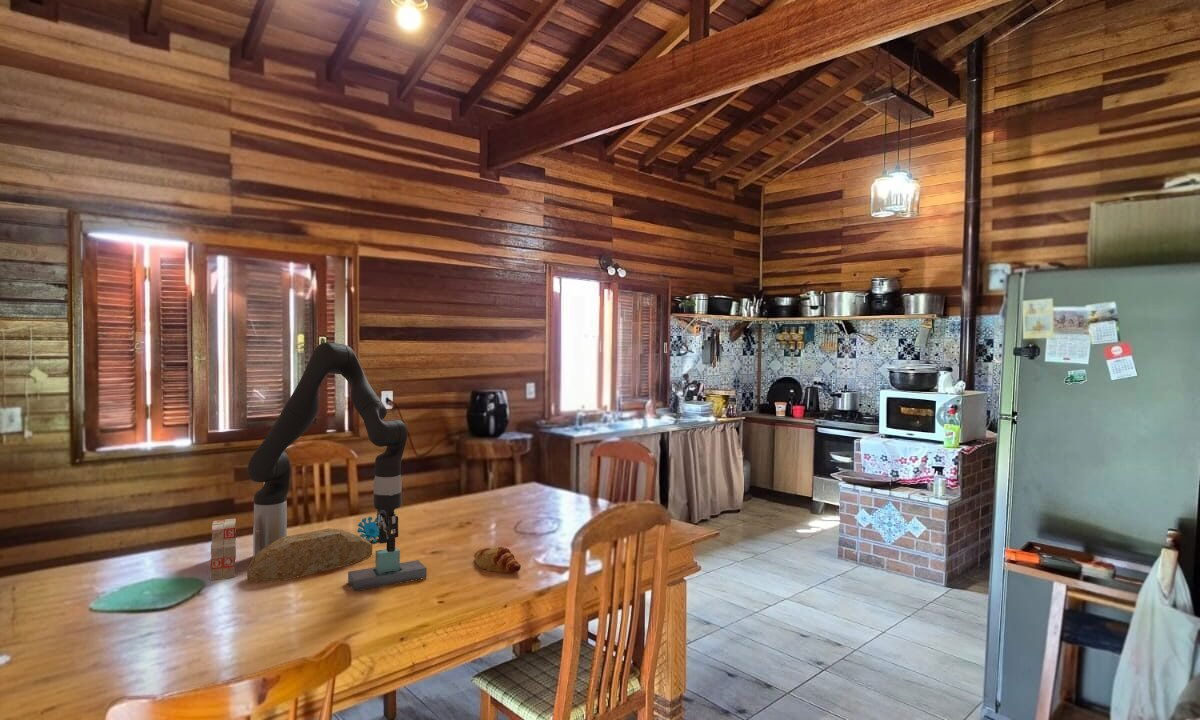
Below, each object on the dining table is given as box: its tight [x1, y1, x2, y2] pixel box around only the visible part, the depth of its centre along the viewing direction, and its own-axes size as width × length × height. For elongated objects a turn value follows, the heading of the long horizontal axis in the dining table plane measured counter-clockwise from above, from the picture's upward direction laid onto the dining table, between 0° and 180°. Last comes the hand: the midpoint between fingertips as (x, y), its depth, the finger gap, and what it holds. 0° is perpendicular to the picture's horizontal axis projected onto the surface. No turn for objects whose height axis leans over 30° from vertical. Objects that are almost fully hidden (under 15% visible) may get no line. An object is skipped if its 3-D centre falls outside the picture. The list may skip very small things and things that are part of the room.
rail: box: [347, 559, 428, 592], centre depth 190 cm, size 20×8×3 cm, turn 122°
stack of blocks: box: [210, 518, 237, 581], centre depth 199 cm, size 21×6×12 cm, turn 28°
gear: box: [356, 516, 380, 544], centre depth 229 cm, size 11×6×10 cm
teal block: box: [375, 547, 401, 575], centre depth 190 cm, size 6×3×8 cm, turn 122°
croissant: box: [473, 546, 522, 574], centre depth 203 cm, size 21×10×8 cm, turn 48°
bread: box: [246, 528, 373, 584], centre depth 201 cm, size 36×11×10 cm, turn 135°
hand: (386, 547), depth 190 cm, fingers open, 8 cm apart
